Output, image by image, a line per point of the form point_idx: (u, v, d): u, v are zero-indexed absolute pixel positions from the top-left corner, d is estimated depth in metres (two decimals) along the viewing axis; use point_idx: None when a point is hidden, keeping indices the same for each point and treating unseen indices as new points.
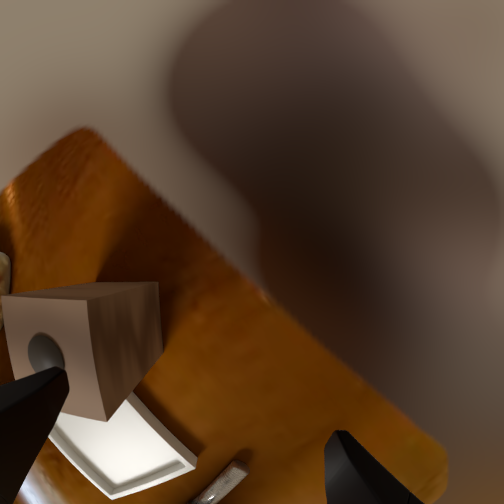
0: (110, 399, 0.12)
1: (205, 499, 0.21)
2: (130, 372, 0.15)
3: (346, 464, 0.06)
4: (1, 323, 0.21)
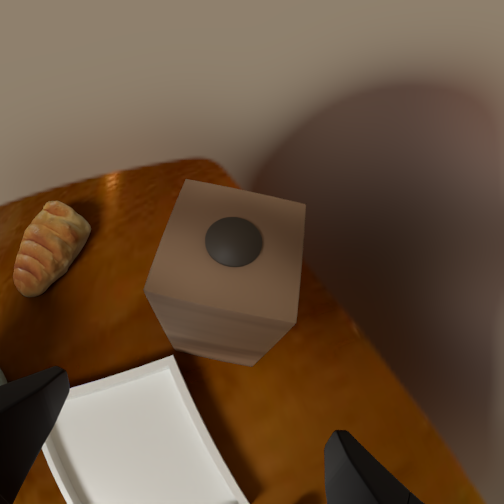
0: None
1: None
2: None
3: (346, 464, 0.06)
4: (45, 287, 0.20)
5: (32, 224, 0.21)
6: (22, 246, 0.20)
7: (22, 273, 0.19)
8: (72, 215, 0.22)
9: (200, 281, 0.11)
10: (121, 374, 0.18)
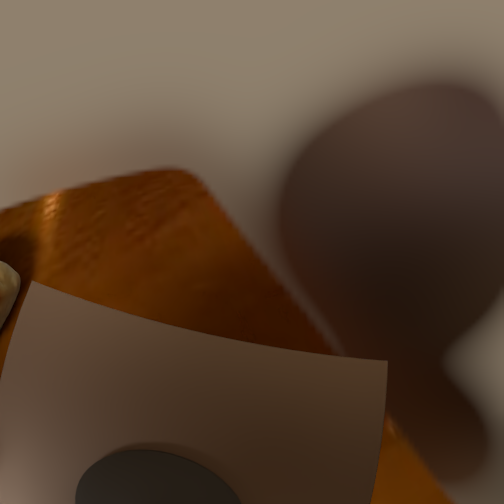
0: None
1: None
2: None
3: None
4: None
5: None
6: None
7: None
8: None
9: None
10: None
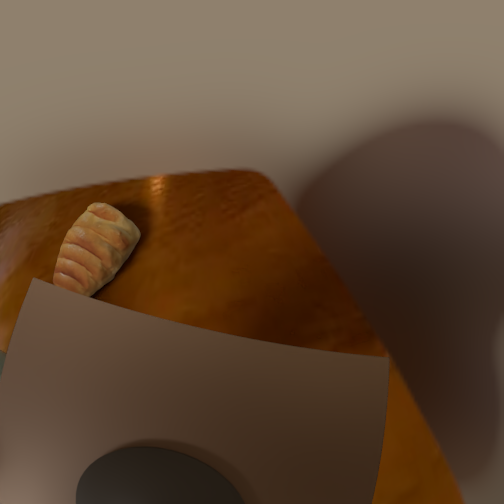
0: None
1: None
2: None
3: None
4: (91, 294, 0.21)
5: (76, 226, 0.22)
6: (64, 249, 0.21)
7: (66, 278, 0.20)
8: (122, 220, 0.23)
9: None
10: None
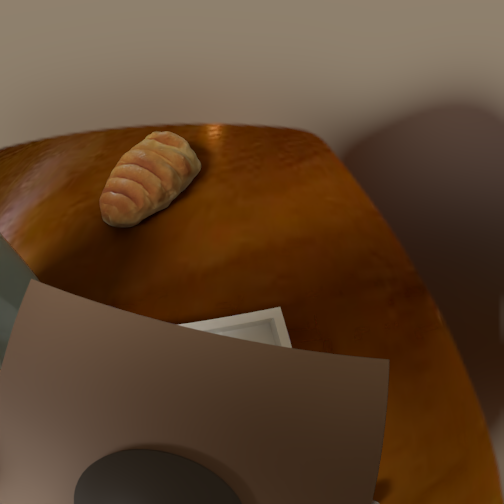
0: None
1: None
2: None
3: None
4: (142, 217, 0.21)
5: (134, 149, 0.22)
6: (118, 170, 0.21)
7: (117, 196, 0.20)
8: (186, 148, 0.23)
9: None
10: (216, 320, 0.17)
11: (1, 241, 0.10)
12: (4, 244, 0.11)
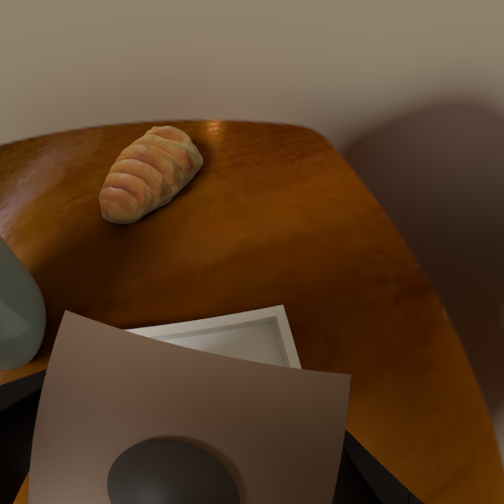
0: None
1: None
2: None
3: (346, 464, 0.06)
4: (143, 213, 0.20)
5: (134, 144, 0.21)
6: (118, 165, 0.20)
7: (117, 191, 0.19)
8: (188, 142, 0.22)
9: None
10: (215, 319, 0.16)
11: None
12: None
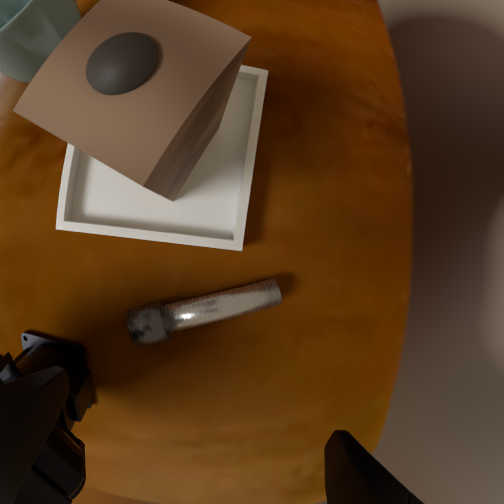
0: (162, 165, 0.09)
1: (196, 307, 0.19)
2: (173, 171, 0.12)
3: (346, 464, 0.06)
4: None
5: None
6: None
7: None
8: None
9: (63, 106, 0.07)
10: None
11: None
12: None
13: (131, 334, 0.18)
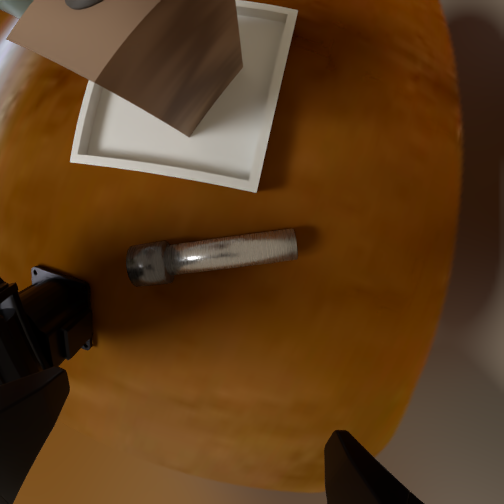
0: (125, 66, 0.07)
1: (201, 248, 0.18)
2: (163, 87, 0.10)
3: (346, 464, 0.06)
4: None
5: None
6: None
7: None
8: None
9: (43, 26, 0.05)
10: (237, 1, 0.14)
11: None
12: None
13: (128, 269, 0.17)
